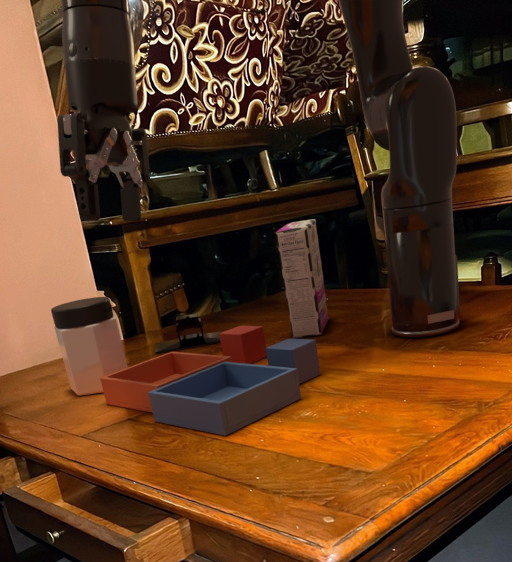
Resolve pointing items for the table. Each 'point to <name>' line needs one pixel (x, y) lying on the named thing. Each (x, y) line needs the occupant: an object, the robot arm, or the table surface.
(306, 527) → the table surface
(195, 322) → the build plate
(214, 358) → the terracotta bin
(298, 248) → the candy bar box
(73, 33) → the robot arm
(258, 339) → the red block
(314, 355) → the blue block
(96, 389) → the jar
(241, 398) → the blue bin
